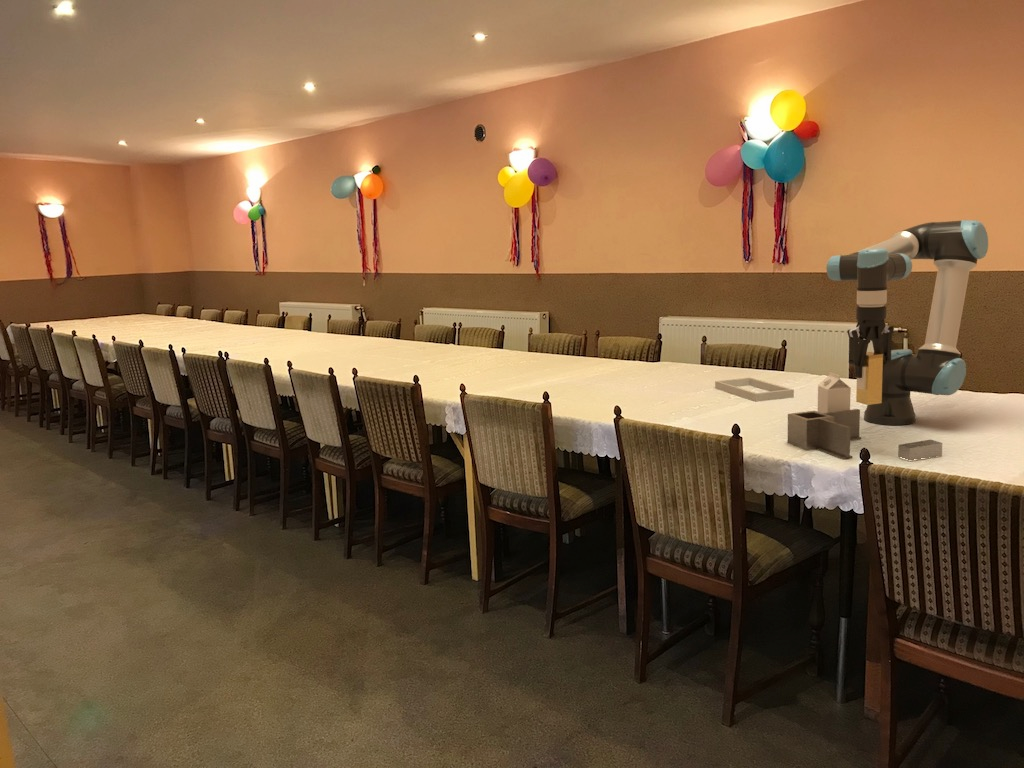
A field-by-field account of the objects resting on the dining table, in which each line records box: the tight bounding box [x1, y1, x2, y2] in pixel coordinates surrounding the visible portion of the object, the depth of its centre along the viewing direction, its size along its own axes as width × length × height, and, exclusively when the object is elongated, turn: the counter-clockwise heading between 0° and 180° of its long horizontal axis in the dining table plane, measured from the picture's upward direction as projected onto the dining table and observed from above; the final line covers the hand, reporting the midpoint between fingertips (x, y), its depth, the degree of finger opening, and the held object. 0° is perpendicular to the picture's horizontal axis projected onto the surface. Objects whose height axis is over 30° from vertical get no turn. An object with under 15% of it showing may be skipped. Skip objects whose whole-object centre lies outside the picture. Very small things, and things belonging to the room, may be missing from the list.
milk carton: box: [817, 371, 852, 413], centre depth 233 cm, size 7×7×19 cm
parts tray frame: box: [714, 377, 795, 403], centre depth 300 cm, size 16×30×3 cm, turn 14°
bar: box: [897, 439, 943, 460], centre depth 206 cm, size 11×4×4 cm, turn 107°
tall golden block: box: [855, 351, 883, 406], centre depth 211 cm, size 5×5×14 cm
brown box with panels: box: [787, 408, 862, 461], centre depth 219 cm, size 21×21×9 cm
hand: (869, 387), depth 211 cm, fingers closed on tall golden block, 5 cm apart
